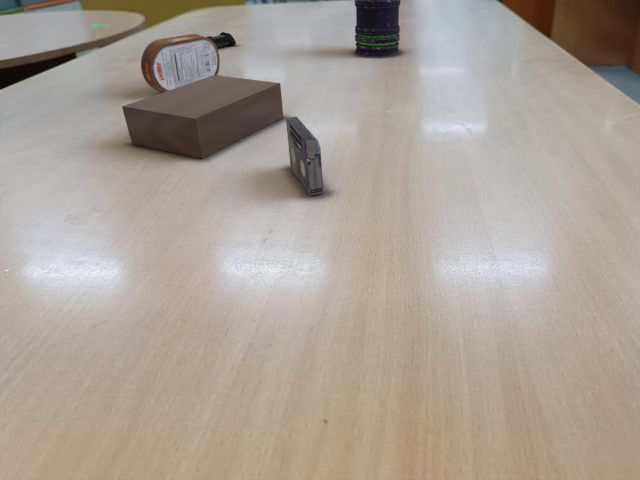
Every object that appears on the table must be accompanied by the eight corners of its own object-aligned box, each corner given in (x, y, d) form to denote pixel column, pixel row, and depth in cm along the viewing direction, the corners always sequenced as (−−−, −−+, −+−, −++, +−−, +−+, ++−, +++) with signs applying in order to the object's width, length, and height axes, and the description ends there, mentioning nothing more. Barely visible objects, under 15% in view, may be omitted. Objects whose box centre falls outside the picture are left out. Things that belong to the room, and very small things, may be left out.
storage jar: (387, 46, 120) (388, -27, 111) (407, 54, 112) (410, -24, 104) (348, 50, 116) (346, -25, 108) (365, 59, 109) (365, -22, 101)
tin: (214, 78, 97) (206, 29, 92) (226, 80, 95) (218, 31, 90) (146, 96, 86) (133, 43, 82) (158, 99, 85) (145, 45, 80)
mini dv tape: (323, 194, 54) (320, 139, 51) (309, 196, 54) (305, 141, 50) (303, 166, 61) (299, 115, 57) (290, 168, 60) (285, 117, 57)
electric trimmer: (175, 56, 114) (172, 41, 112) (226, 44, 125) (224, 29, 123) (186, 58, 112) (183, 43, 111) (237, 45, 123) (235, 31, 121)
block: (131, 144, 67) (121, 106, 65) (220, 107, 81) (214, 74, 78) (202, 158, 63) (194, 118, 60) (283, 117, 76) (280, 83, 73)
